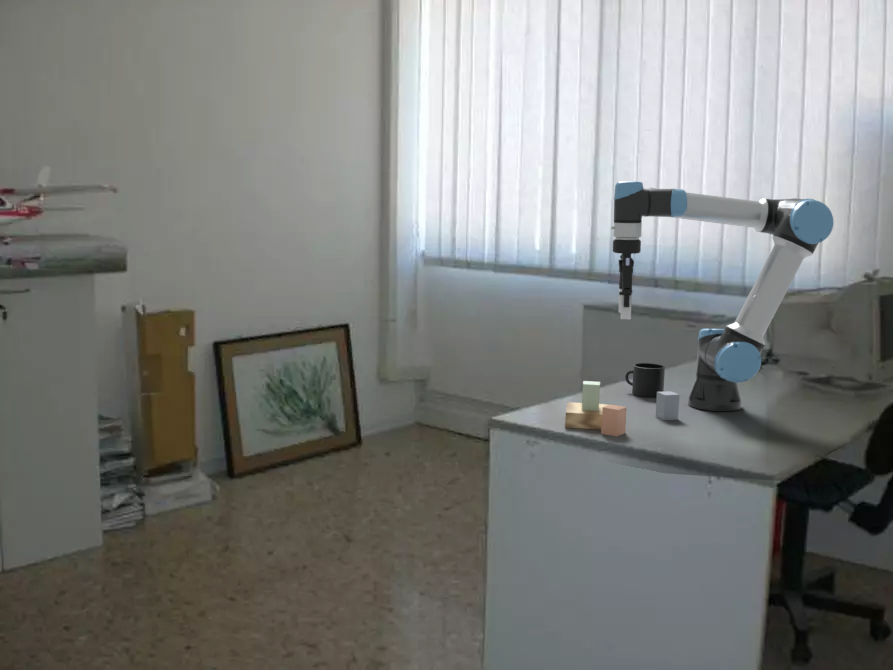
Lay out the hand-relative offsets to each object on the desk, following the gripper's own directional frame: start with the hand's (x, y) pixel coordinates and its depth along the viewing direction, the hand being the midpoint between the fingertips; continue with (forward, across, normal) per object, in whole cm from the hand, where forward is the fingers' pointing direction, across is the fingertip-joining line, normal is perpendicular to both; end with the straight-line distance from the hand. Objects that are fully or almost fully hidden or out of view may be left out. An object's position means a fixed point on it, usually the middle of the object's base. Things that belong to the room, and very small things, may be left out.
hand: (624, 315), depth 283 cm
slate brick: (+28, 0, +12) cm, 31 cm away
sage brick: (+24, +12, -9) cm, 28 cm away
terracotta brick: (+28, +22, -3) cm, 36 cm away
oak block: (+28, +12, -9) cm, 31 cm away
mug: (+28, -31, +8) cm, 43 cm away
